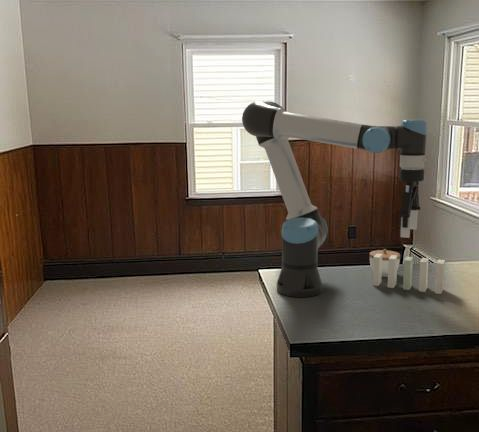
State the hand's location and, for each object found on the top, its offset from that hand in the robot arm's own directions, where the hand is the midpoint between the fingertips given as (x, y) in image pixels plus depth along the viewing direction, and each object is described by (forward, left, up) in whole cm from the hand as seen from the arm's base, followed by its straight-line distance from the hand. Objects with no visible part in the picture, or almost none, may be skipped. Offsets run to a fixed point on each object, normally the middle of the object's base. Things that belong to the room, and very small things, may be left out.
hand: (408, 233), depth 172 cm
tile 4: (+5, 0, -19) cm, 19 cm away
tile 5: (+10, 0, -19) cm, 21 cm away
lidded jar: (-10, +12, -19) cm, 24 cm away
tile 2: (-5, 0, -19) cm, 19 cm away
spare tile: (0, 0, -19) cm, 19 cm away
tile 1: (-10, 0, -19) cm, 21 cm away
